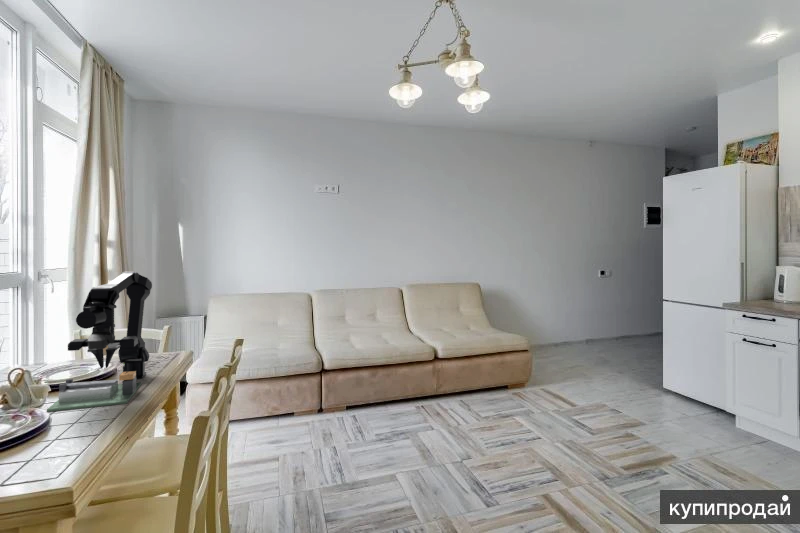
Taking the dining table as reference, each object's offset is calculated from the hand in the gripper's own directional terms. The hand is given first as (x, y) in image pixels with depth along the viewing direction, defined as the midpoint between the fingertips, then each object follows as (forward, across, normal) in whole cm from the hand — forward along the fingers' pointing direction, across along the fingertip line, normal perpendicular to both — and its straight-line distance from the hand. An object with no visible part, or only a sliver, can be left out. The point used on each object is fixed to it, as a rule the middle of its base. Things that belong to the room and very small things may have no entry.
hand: (104, 367), depth 136 cm
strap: (+6, -4, 0) cm, 7 cm away
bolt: (+4, +7, 0) cm, 8 cm away
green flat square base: (+10, -2, 0) cm, 10 cm away
